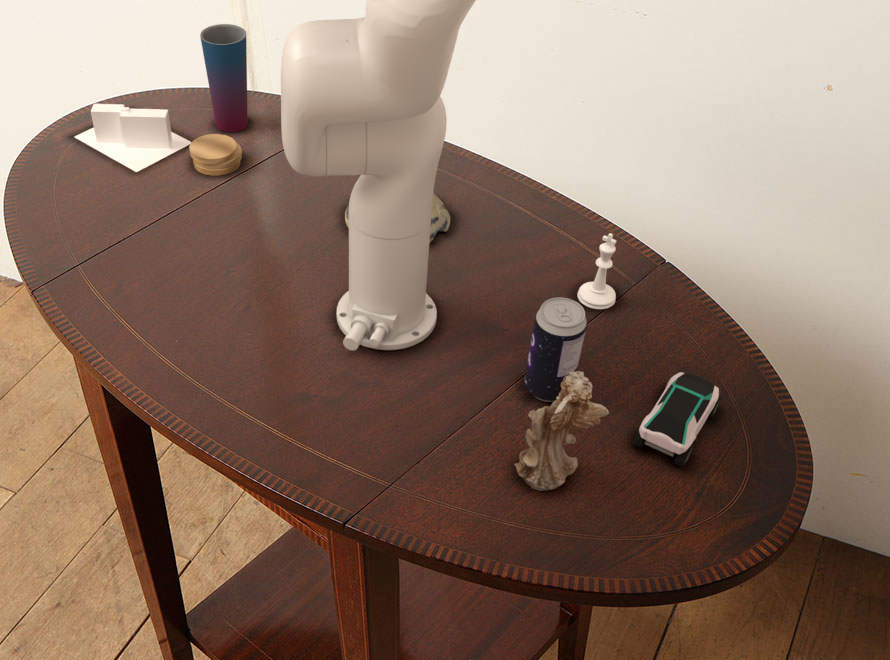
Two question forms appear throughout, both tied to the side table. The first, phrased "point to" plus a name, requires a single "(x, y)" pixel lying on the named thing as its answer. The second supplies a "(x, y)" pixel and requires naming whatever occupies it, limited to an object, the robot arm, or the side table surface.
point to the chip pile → (215, 154)
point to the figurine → (558, 433)
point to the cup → (227, 74)
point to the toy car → (679, 416)
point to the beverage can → (554, 347)
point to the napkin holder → (132, 135)
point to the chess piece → (600, 279)
